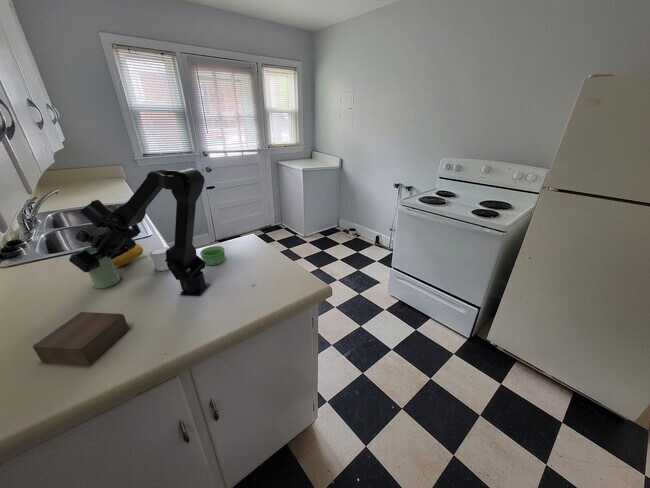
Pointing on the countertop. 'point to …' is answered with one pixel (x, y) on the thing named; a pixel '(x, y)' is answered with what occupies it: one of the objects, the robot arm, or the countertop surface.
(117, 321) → the block
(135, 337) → the countertop surface
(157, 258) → the white cup
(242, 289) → the countertop surface
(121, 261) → the potato
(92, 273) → the tumbler
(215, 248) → the ramekin
